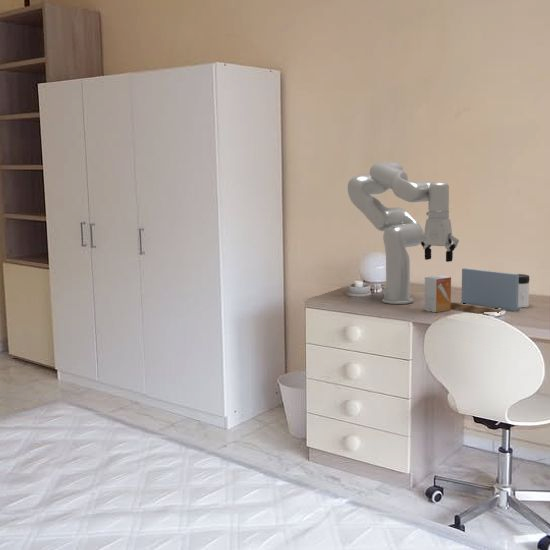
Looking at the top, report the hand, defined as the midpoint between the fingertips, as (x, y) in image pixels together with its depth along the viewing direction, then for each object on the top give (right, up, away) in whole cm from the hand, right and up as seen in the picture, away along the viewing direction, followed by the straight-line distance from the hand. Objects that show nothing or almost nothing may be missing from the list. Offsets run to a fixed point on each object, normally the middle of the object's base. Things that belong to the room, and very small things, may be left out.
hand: (438, 260), depth 273 cm
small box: (0, -19, +3) cm, 20 cm away
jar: (+33, -18, +7) cm, 38 cm away
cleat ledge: (+12, -20, -1) cm, 23 cm away
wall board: (+21, -18, +7) cm, 29 cm away
